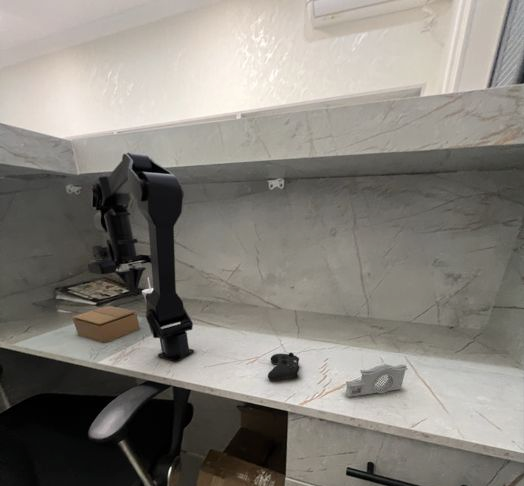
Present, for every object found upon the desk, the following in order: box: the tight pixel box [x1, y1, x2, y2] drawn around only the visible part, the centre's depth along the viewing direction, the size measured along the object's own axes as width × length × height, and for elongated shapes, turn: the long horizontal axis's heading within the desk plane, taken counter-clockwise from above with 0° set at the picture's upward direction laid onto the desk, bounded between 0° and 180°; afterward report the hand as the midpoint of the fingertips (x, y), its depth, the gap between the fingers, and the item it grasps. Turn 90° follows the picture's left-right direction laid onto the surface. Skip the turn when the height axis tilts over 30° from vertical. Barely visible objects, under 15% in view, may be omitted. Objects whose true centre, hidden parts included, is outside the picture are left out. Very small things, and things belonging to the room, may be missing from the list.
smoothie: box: [141, 276, 153, 302], centre depth 94 cm, size 6×6×14 cm
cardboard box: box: [72, 305, 141, 343], centre depth 85 cm, size 13×12×6 cm
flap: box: [72, 310, 119, 325], centre depth 81 cm, size 13×6×1 cm, turn 61°
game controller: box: [267, 352, 300, 382], centre depth 62 cm, size 10×5×6 cm
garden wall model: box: [345, 363, 408, 398], centre depth 54 cm, size 12×2×6 cm, turn 103°
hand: (133, 294), depth 79 cm, fingers closed
